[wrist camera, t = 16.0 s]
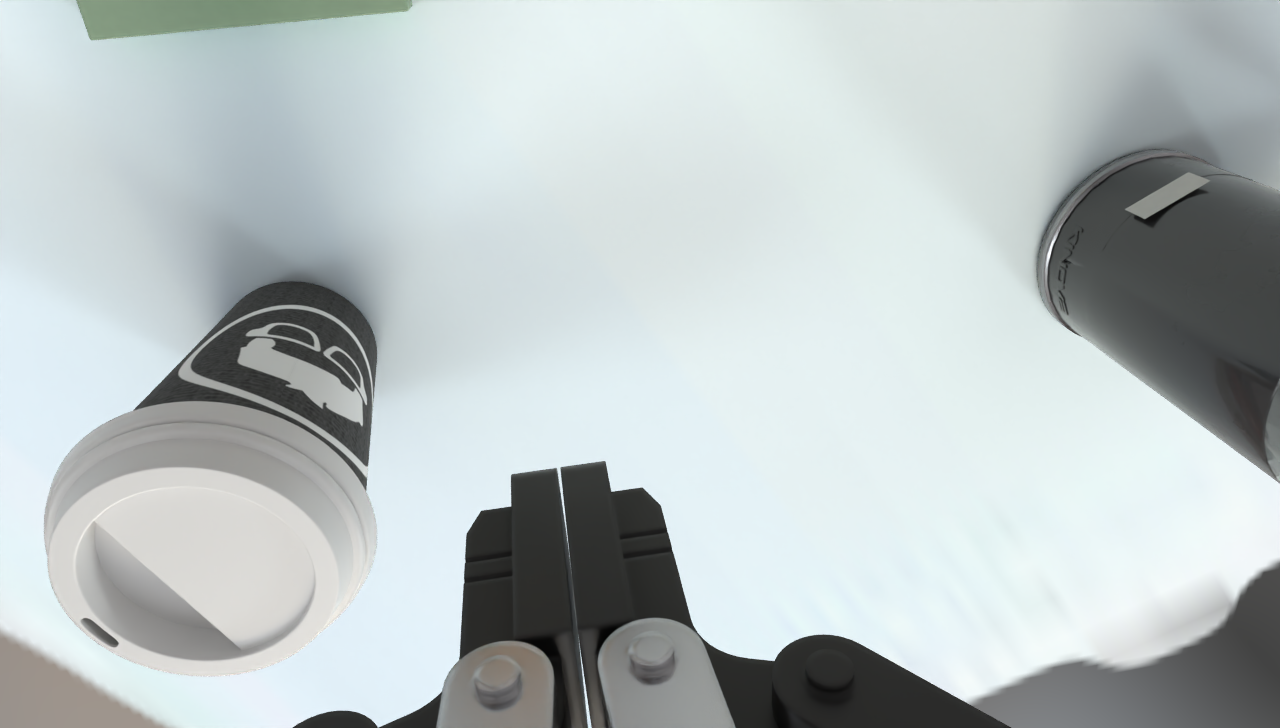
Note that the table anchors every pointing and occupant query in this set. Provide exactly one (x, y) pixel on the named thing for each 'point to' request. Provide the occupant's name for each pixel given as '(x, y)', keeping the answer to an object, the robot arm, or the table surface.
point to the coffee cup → (226, 494)
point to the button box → (215, 14)
